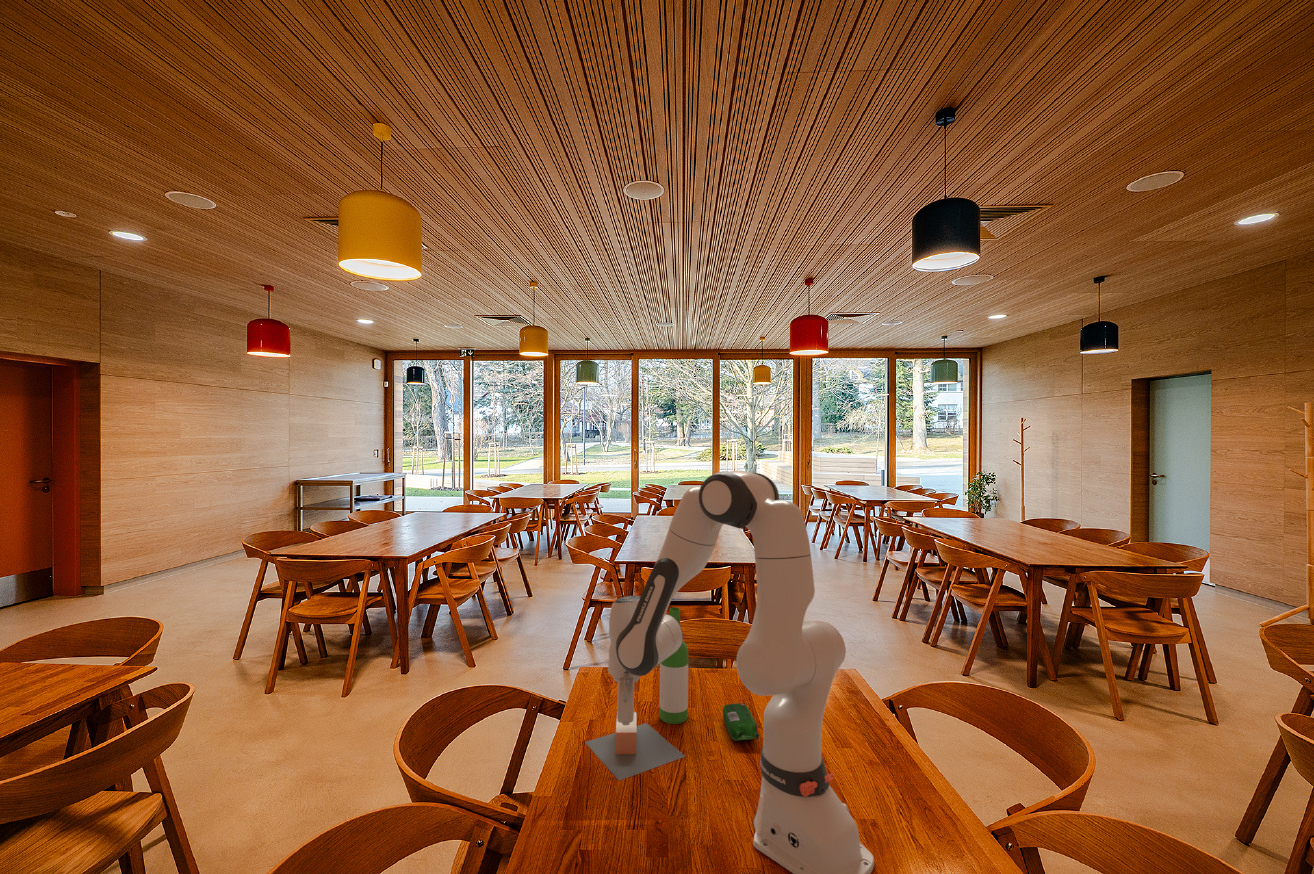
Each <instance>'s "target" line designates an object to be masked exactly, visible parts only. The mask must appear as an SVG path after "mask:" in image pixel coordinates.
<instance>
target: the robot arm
mask: <svg viewBox="0 0 1314 874" xmlns="http://www.w3.org/2000/svg"><path fill="white" fill-rule="evenodd" d="M802 512H803V511H802V510H801V509H800V507H799V506H798V505H797V504H795V502H794V503H793V502H791V501H789V500H786V499H780V494H779V490H778V487H777V486H776V483H775V482H774V481H773V480H772V479H771V478H770V477H768V476H766V475H765V474H761V473H758V472H749V471H746V470H729V471H727V470H726V471H725V470H723V471H718V472H715V473H713V474H711V475H709V476H708V477H707V478H706V479H705V480H704V481H703V482H702V484H701V485H700V486H693V487H690V488H688V489H687V490H686V491H685V492H684V494H683V495H682V497H681V499H680V501H679V503H678V505H677V507H676V509H675V511H674V514H673V516H672V518H671V521H670V524H669V528H668V530H667V533H666V536H665V539H664V541H663V544H662V547H661V550H660V553H659V555H658V557H657V559H656V561H655V564H654V565H653V568H652V570H651V572H650V574H649V576H648V579H647V580H646V583H645V585H644V588H643V590H642V593H641V595H637V594H635V595H627V596H622V597H620V598H618V599H616V600H614V601H613V602H612V605H611V608H610V612H609V622H608V623H609V625H608V636H609V639H610V642H609V643H610V644H609V647H608V667H607V668H608V674H609V675H611V676H612V677H613V680H614V682H616V683H618V684H617V703H616V704H617V708H616V709H617V710H616V711H617V712H616V721H617V720H618V722H621V723H622V725H629V724H630V722H633V719H634V712H635V707H634V706H635V705H634V704H635V683H637V682H638V681H640V678H641V677H642V676H647V675H648V674H649V673H650V672H652V671H653V670H654V669H655V668H656V667H657V666H658V665H660V663H661V662H662V661H664V660H665V659H667V658H668V657H669V656H671V655H672V654H674V653H675V652H676V651H677V650H678V649H679V648H680V647H681V645H682V641H684V636H683V629H682V626H681V623H680V624H679V623H678V621H677V620H676V619H675V618H674V617H672V616H671V615H670V614H667V611H668V609H669V605H670V604H671V602H672V600H673V598H674V597H675V595H676V594H677V592H679V590H680V589H681V588H682V587H684V586H685V585H686V584H687V583H688V582H689V581H691V580H692V579H693V578H695V577H696V576H697V575H699V574H700V573H701V572H702V571H704V569H705V567H706V566H707V564H708V562H709V561H710V559H711V558H712V554H713V552H714V549H715V547H716V544H717V540H718V538H719V534H720V532H721V529H722V527H723V526H724V525H727V526H730V527H733V528H737V529H743V528H747V530H749V532H750V534H751V536H752V540H753V547H754V548H753V549H754V562H755V564H754V565H755V572H756V573H755V575H756V592H757V595H756V606H755V612H754V616H753V620H752V624H751V626H750V629H749V632H748V634H747V637H746V638H745V640H744V641H743V643H742V644H741V645H740V647H739V648H738V651H737V654H736V660H735V661H736V663H735V664H736V669H737V674H738V677H739V678H740V681H741V682H742V684H743V686H744V687H745V688H747V690H748V692H750V693H752V694H754V695H756V696H762V697H763V696H765V697H767V696H772V697H771V699H770V700H769V701H768V703H767V704H766V707H765V709H764V712H763V724H762V725H763V732H762V733H763V735H762V736H763V737H762V738H763V740H762V741H763V743H762V744H763V745H762V748H761V752H760V754H761V755H760V761H759V762H760V773H761V776H762V779H761V786H760V792H759V799H758V805H757V810H756V814H755V815H754V816H755V817H754V819H753V828H754V830H755V833H754V835H753V840H752V841H753V842H752V845H753V847H754V848H755V849H756V850H757V851H760V852H761V853H762V854H763V855H765V856H767V857H768V858H770V859H771V860H772V861H775V862H776V863H777V864H778V865H780V866H781V867H783V868H785V869H786V870H788V871H789V872H790V873H792V874H871V873H872V872H873V870H874V868H875V860H874V859H875V856H874V855H873V854H872V853H871V852H870V851H869V849H868V848H866V847H865V846H864V845H863V844H862V842H861V841H860V834H859V829H858V826H857V823H856V821H855V820H854V818H853V817H852V815H851V814H850V809H849V807H848V805H847V804H846V803H844V802H842V801H841V799H840V798H839V797H838V795H837V794H836V792H835V791H834V789H833V788H832V787H831V785H830V781H832V780H833V779H834V777H833V775H834V773H833V772H830V773H829V774H828V773H827V769H826V765H825V762H824V759H823V756H822V745H823V744H822V743H823V742H822V740H823V739H822V737H823V736H822V735H823V720H824V715H825V710H826V706H827V702H828V699H829V694H830V692H831V687H832V685H833V682H834V680H835V676H836V674H837V673H838V671H839V669H840V668H841V665H842V664H843V663H844V662H845V658H846V653H847V652H846V651H847V649H846V644H845V641H844V638H843V636H842V635H841V632H840V631H839V630H838V629H837V627H835V626H834V625H833V624H831V623H829V622H826V621H821V620H805V616H806V613H807V610H808V608H809V606H810V604H811V603H812V601H813V599H814V597H815V592H816V591H815V580H814V571H813V563H812V555H811V554H812V553H811V545H810V544H811V543H810V540H809V535H808V531H807V530H808V529H807V525H806V522H805V519H804V516H803V513H802ZM804 620H805V621H804Z"/></svg>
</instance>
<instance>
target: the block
mask: <svg viewBox="0 0 1314 874" xmlns="http://www.w3.org/2000/svg"><path fill="white" fill-rule="evenodd" d="M615 725H616V726H615V733H616V749H615V754H636V739H637V726H638V725H637V711H634V719H633V722H630V724H629V725H622V723H621V722H618V720H617V719H616V723H615Z"/></svg>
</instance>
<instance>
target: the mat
mask: <svg viewBox="0 0 1314 874" xmlns="http://www.w3.org/2000/svg"><path fill="white" fill-rule="evenodd" d="M584 743H585V745H587V746H588V748H589V749H590V750H591V751H592V752H593V753H594V755H595V756H596V757H597V758H598V759H599V760H600V761H601V762H602V764H603V765H604V766H605V767H606V768H607V769H608V770H609V771H610V773H611V774H612V775H613V776H614V777H615V779H616V780H617V781H619V782H620V781H622V780H625V779H627V778H631V777H633V776H637V775H638V774H639V775H640V774H642V773H644V772H647V771H650V770H652V769H655V768H658V767H661V766H664V765H667V764H669V763H672V762H675V761H677V760H680V759H684V758H685V757H687V756H686V755H684V753H683V752H681V751H680V750H679V749H678V748H677V747H675V746H674V745H673V744H671V742H670V741H668V740H667V739H666V738H665V737H664V736H662V735H661V734H660V733H659V732H658V731H657V730H656V729H655V728H653V727H652V726H651V725H650V724H649V723H647V722H646V723H642V724H639V725H637V739H636V754H615V749H616V732H614V733H610V734H607V735H604V736H600V737H597V738H594V739H590V740H588V741H584Z"/></svg>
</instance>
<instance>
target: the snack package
mask: <svg viewBox="0 0 1314 874" xmlns="http://www.w3.org/2000/svg"><path fill="white" fill-rule="evenodd" d="M722 718H723V720H724V721H723V722H724V723H725V726H726V731H727V732H728V734H729V736H730V738H731V739H732V740H733V741H735V742H737V741H747V740H753V739H755V740H758V739H759V738H760V734H759V732H758V726H757V723H756V721H755V718H754V717H753V715H752V713H751V711H750V709H749V706H747V704H744V703H741V702H738V703H737V702H736V703H727V704H725V705H723V708H722Z"/></svg>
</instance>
